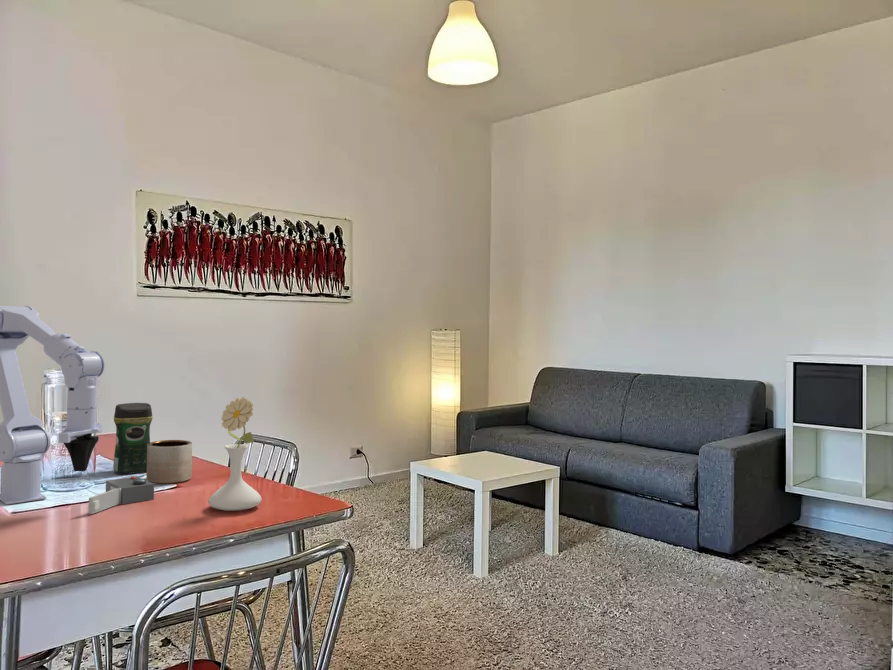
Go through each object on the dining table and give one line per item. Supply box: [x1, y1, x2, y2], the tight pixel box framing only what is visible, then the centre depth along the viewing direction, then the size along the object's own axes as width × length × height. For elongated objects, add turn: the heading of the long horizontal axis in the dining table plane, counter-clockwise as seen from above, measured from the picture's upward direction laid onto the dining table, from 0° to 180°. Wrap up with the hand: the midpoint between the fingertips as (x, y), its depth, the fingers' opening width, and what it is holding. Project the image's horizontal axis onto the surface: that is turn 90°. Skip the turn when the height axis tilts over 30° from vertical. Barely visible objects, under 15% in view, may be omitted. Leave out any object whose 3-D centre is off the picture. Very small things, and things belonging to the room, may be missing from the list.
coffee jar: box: [112, 402, 154, 475], centre depth 187 cm, size 10×8×19 cm
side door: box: [88, 488, 121, 515], centre depth 149 cm, size 10×1×3 cm, turn 169°
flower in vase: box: [207, 396, 263, 512], centre depth 152 cm, size 13×11×25 cm
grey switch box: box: [105, 476, 155, 505], centre depth 160 cm, size 10×7×4 cm
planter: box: [146, 439, 193, 485], centre depth 178 cm, size 11×11×10 cm
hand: (80, 470), depth 149 cm, fingers closed
